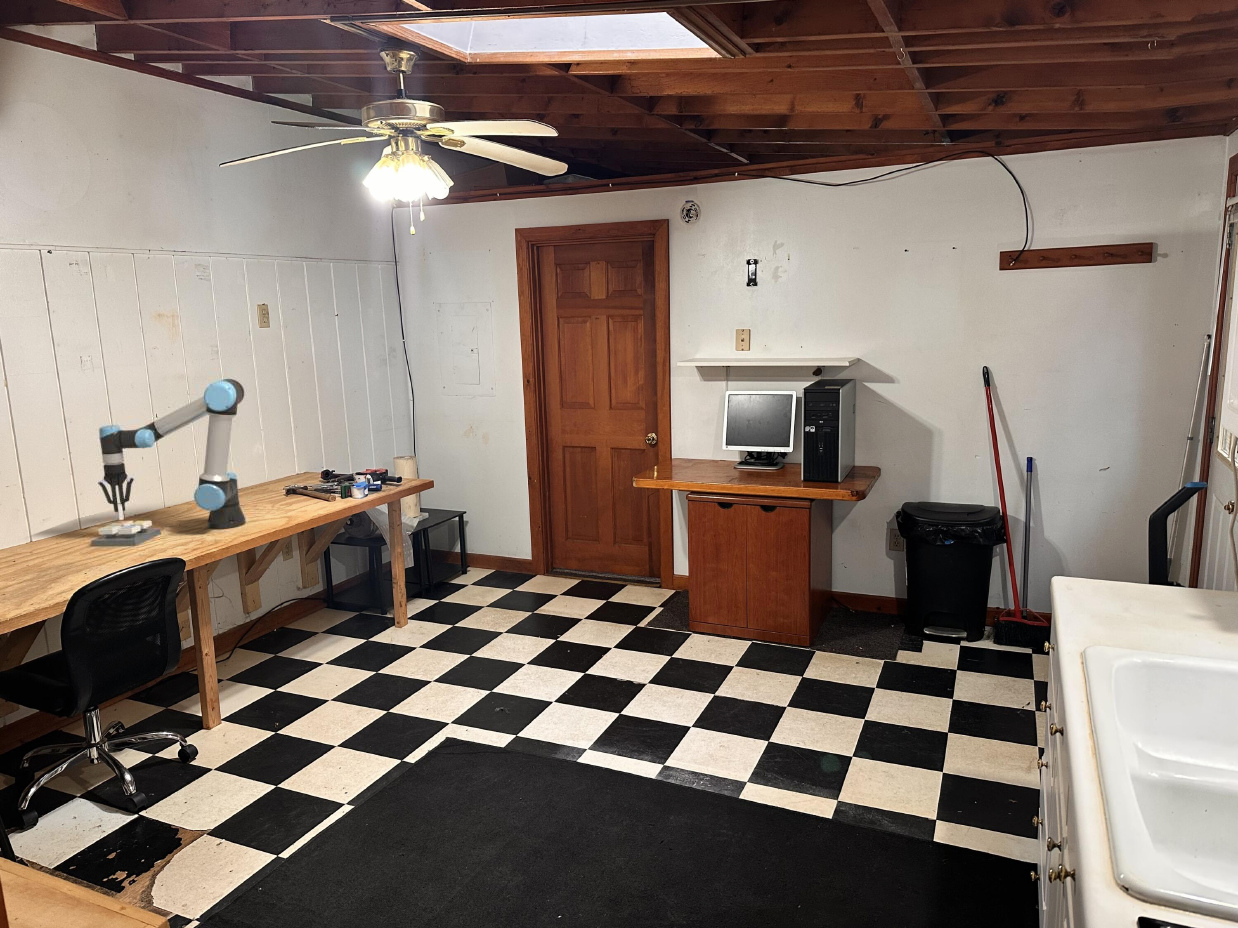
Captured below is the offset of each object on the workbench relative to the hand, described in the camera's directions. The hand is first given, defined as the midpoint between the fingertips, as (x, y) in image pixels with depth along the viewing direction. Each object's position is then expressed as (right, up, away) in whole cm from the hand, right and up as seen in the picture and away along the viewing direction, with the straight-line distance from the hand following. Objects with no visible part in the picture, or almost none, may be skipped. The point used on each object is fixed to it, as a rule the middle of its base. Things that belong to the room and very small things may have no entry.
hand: (120, 519), depth 357 cm
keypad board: (+4, -9, -3) cm, 10 cm away
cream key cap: (+8, -5, +1) cm, 10 cm away
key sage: (0, -7, -7) cm, 10 cm away
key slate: (+8, -7, -7) cm, 13 cm away
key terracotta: (0, -5, +1) cm, 6 cm away
